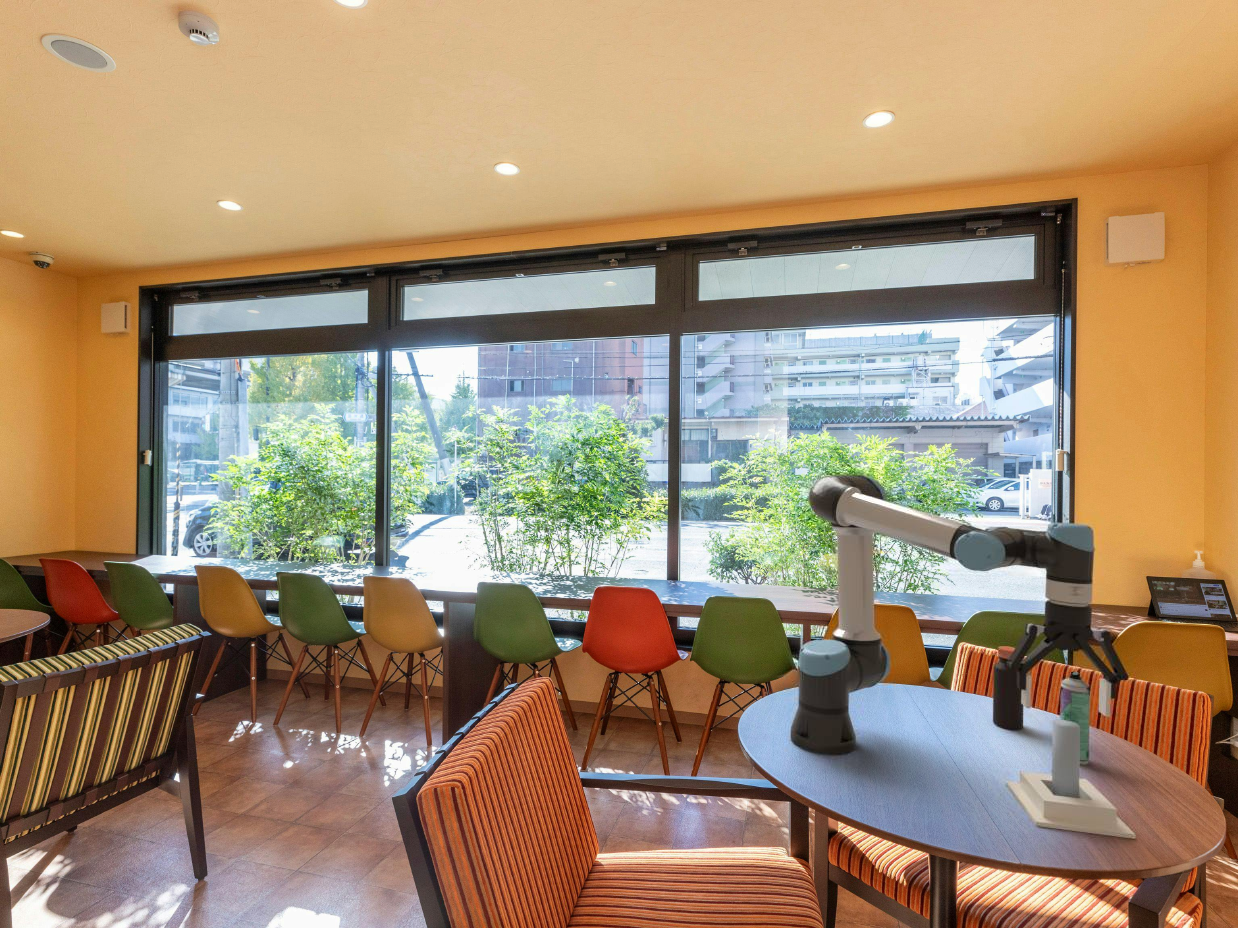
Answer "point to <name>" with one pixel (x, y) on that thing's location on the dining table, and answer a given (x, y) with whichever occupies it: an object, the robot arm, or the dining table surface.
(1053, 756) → the peg
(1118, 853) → the dining table surface
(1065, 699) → the spray can
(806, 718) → the robot arm
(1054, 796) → the socket
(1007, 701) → the bottle
